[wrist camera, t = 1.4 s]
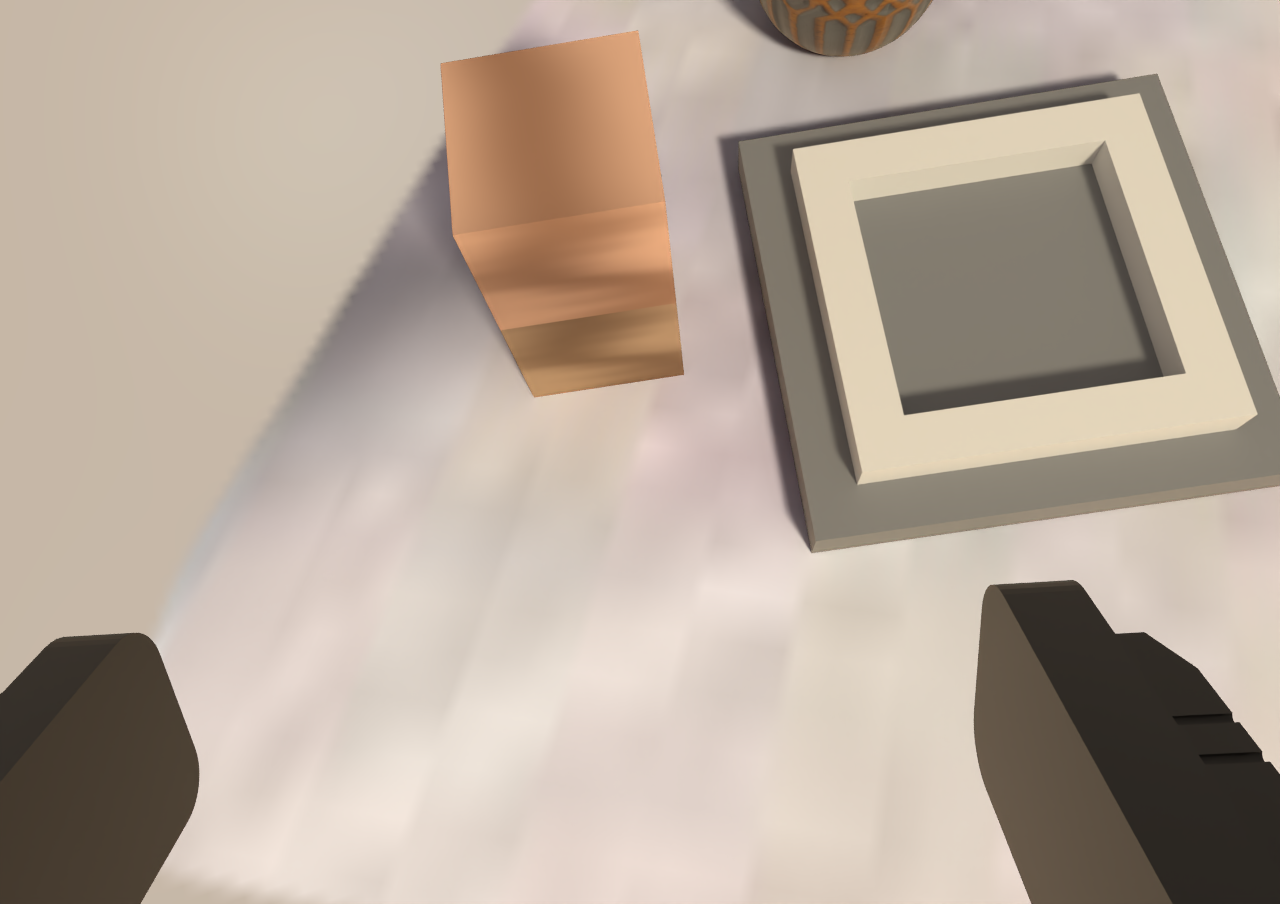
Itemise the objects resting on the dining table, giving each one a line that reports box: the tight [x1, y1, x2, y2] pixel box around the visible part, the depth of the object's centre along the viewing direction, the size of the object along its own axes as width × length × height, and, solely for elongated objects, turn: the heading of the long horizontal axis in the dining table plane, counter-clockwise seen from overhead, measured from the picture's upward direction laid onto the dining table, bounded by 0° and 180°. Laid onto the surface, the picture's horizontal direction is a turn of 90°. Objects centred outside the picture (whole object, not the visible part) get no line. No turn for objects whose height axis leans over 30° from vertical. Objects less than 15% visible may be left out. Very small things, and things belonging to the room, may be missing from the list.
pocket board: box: [738, 74, 1280, 553], centre depth 30 cm, size 14×14×3 cm
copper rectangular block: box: [441, 31, 684, 397], centre depth 28 cm, size 5×5×10 cm
